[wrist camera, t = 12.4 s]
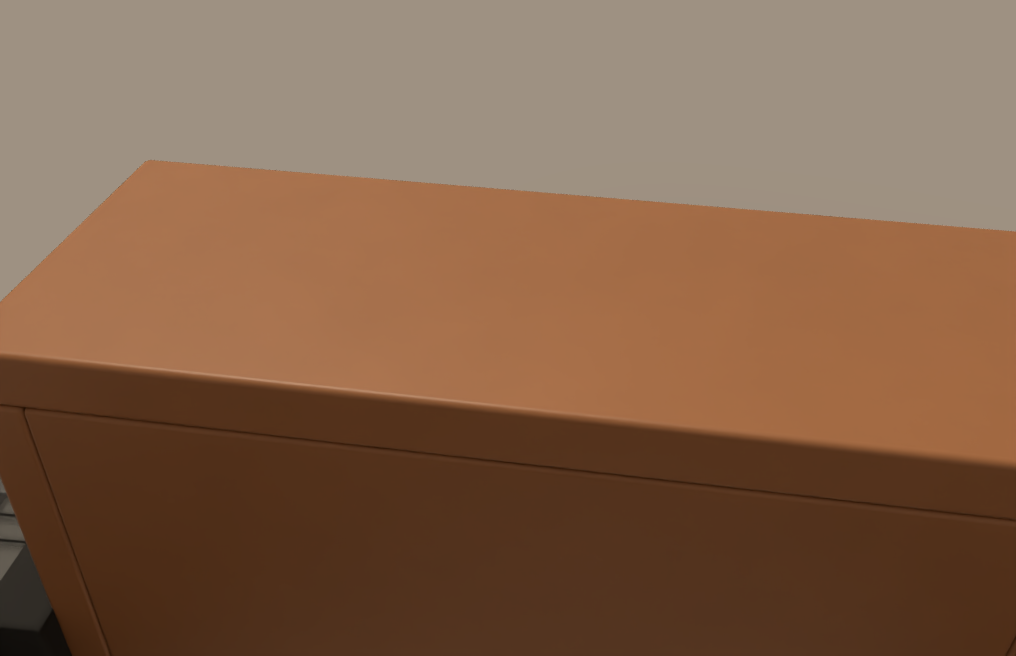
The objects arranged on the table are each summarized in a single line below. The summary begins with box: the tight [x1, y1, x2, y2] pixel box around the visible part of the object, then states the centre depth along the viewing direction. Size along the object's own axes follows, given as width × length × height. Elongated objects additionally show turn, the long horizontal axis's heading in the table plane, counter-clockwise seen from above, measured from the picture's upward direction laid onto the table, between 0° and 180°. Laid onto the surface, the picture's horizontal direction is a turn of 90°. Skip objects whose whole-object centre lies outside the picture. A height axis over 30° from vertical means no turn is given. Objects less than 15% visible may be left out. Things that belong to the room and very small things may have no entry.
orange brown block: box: [0, 160, 1016, 656], centre depth 12 cm, size 10×4×9 cm, turn 82°
